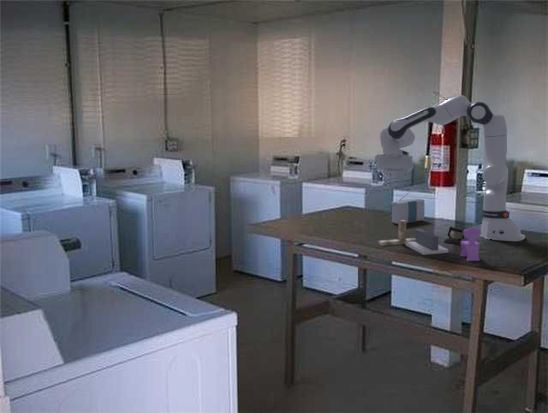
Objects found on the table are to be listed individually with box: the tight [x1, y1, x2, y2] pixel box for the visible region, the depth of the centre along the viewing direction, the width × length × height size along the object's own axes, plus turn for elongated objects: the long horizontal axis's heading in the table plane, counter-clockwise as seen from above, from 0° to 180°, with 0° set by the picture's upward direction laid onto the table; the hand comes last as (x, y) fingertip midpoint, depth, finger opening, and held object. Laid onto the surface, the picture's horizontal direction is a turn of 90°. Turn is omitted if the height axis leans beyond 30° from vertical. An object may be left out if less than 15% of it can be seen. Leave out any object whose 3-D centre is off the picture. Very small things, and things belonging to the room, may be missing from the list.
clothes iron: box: [443, 225, 466, 246], centre depth 310 cm, size 7×11×10 cm, turn 41°
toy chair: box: [460, 226, 481, 262], centre depth 280 cm, size 8×9×15 cm
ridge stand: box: [404, 228, 449, 256], centre depth 299 cm, size 20×13×8 cm, turn 12°
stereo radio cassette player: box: [391, 188, 426, 225], centre depth 364 cm, size 21×8×20 cm, turn 123°
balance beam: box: [378, 220, 415, 247], centre depth 312 cm, size 24×4×12 cm, turn 102°
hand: (397, 177), depth 323 cm, fingers open, 8 cm apart
